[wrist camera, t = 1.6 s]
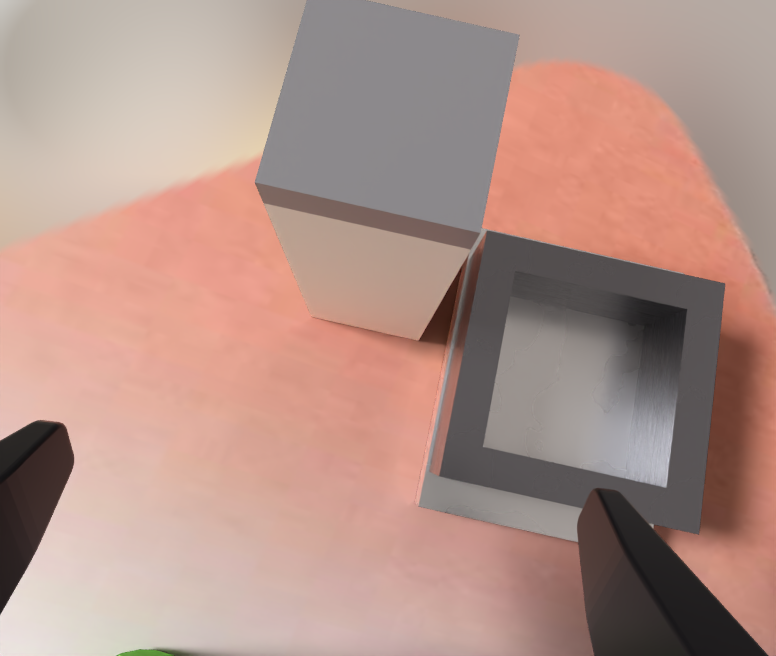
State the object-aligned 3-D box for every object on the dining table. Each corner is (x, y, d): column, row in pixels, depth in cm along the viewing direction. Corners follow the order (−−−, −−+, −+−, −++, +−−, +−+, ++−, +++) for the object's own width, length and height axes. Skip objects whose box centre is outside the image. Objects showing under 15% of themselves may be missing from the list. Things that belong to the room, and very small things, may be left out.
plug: (418, 340, 23) (480, 232, 11) (311, 316, 23) (254, 182, 11) (440, 239, 24) (519, 34, 12) (336, 216, 24) (310, -13, 12)
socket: (630, 550, 22) (697, 578, 18) (414, 502, 22) (427, 517, 18) (664, 283, 24) (731, 249, 20) (467, 239, 24) (490, 195, 20)
